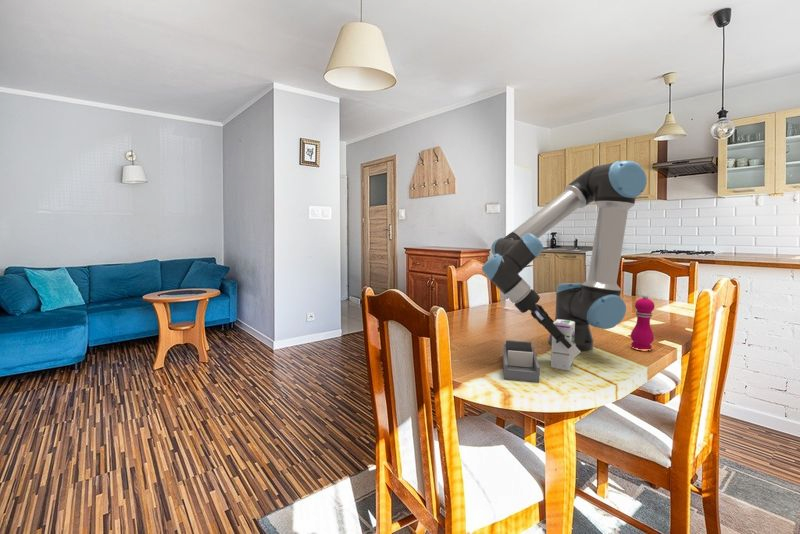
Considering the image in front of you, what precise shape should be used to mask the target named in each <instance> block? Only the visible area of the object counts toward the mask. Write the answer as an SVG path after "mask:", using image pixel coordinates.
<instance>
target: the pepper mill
mask: <svg viewBox="0 0 800 534" xmlns="http://www.w3.org/2000/svg"><path fill="white" fill-rule="evenodd" d="M655 306H656V305H655V303H654V301H653V300H651V299H649V295H648V294H646V293H644V294H642V298H639V299H637V300H636V301H635V303H634V308H635V310H636V311H635V315H636V323H635V326H634V327H633V329H632V330H631V333H630V339H631V341H632V342H631V346H632V347H634V348H638V349H651V348H653V347H652V343H653V342H654V340H655V336H654V332H653V329H652V327H651V318H652V317H653V316H652V315H653V311H654V309H655ZM651 350H652V349H651Z"/></svg>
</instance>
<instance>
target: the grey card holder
mask: <svg viewBox="0 0 800 534" xmlns="http://www.w3.org/2000/svg"><path fill="white" fill-rule="evenodd" d="M508 350H512V351H524V352H533V367H532V368H531V367H520V366H509V365H508V363H507V357H508ZM502 365H503V368H504V369H503V368H502V369H503V379H504V380H510V381H521V382H522V381H523V382H530V383H531V382H532V383H533V382H534V383H540V378H541V377H540V373H541V372H540V371H541V367H540V363H539V360H538V357H537V353H536V350H535V347H534V346H533V345H532V341H524V340H523V341H522V340H511V339H510V340H509V339H506V340H505V344H503V347H502Z"/></svg>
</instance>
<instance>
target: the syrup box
mask: <svg viewBox="0 0 800 534" xmlns="http://www.w3.org/2000/svg"><path fill="white" fill-rule="evenodd" d="M553 321H554V322H553V324H554V325H555V326H556V327H557V328H558V329H559V330H560V331H561V332H562V333H563V334H564V335H565V336H566V337H567V338H568V339H569V340H570V341H571V342H572V343H573V344H574V335H575V322H574V321H570V320H561V319H557V320H556V321H555V320H553ZM550 352H551V355H550V356H551V357H550V368H552V369H557V370H561V371H565V372H566V371H567V372H570V371H571V370H572V368H573V367H574V358H575V357H573V356H572V355H571V354H570V353H569V352H568V351H567V350H566V349H565V348H564V347H563V346H562V345H561V344H560V343H559V342H558V343H556V339H555V338H554V337H553V336H552V345H551V351H550Z"/></svg>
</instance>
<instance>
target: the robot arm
mask: <svg viewBox="0 0 800 534" xmlns="http://www.w3.org/2000/svg"><path fill="white" fill-rule="evenodd" d="M647 178H648V177H647V174H646V172H645V170H644V169H643V167H642V166H641V165H640V164H639V163H637V162H636V161H633V160H617V161H614V162H610V163H605V164H600V165H596V166H593V167H590V168H589V169H588V170H586V171H585V172H583V173H582V174H580V175H579V176H578V177H576V178H575V179H573V180H572V181H571V182H570V183H569V184H567V185H566V186H565V187H564V191H563V192H562V193H560V194H558V196H556V197H555V198H553V200H551V201H550V202H549V203H547V204H546V205H545V206H543V207H542V208H541V209H540V210H538V211H537V212H536V213H535V214H533V215H532V216H530V217H529V218H528V219H527V220H525V221H524V222H523V223H522V224H520V225H519V226H518V227H517V228H515V229H514V230H513V231H511V232H509V233H508V234H506V236H504V237H500V238H497V239H495V240H494V241H493V243H491V247H490V248H491V250H490V251H491V254H492V256H491V257H490V258H489V259H488V260H487V261H486V262H485V263H483V265H482V267H481V270H482V272H483V273H484V275H485V276H486V277H487V279H489V281H491V283H493V285H494V286H496V288H497V289H499V291H501V292H502V294H503V295H504V296H505V297H504V298H505V300H508V299H509V301H510V302H511V303H512V304H514V306H515V307H516V308H517V310H519V312H520V313H527V312H528V311H530V314H531V316H532V318H533V319H535V320H536V321H537V322H538V323H539V324H540V325H542V326H543V328H545V330H546V331H547V332H548V333H549V336H548V338H549V339H548V344H550V345H551V346H552V336H553V337H554V338H555V339H556V343H558V342H559V343H560V344H561V345H562V346H563V347H564V348H565V349H566V350H567V351H568V352H569V353H570V354H571V355H572V356H573V357H574V358H575V357H577V356H578V355H579V354H580V353H582V352H581V351H589V350H592V349H593V348H594V338H593V334H592V331H591V329H590V328H591V327H594V328H599V329H603V330H607V329H609V330H610V329H612V328H615V327H616V326H617V325H619V324H620V323H621V322H622V321H623V319H624V317H625V315H626V311H627V306H626V303H625V302H624V299H623V298H622V297H621V291H622V289H621V288H620V286H619V285H618V283H617V282H618V275H619V270H620V263H621V257H622V251H623V246H624V245H623V244H624V238H625V233H626V232H625V231H626V225H627V220H628V214H629V213H628V212H629V210H630V209H631V208H633V207H634V206H635V204H636V199H637V197H638V196H639V197H640V195H641V194H642V193H643V192H644V191H645V189H646V186H647V180H648V179H647ZM593 202H594V204H595V206H597V208H598V211H597V212H598V213H597V219H596V226H595V231H594V232H595V233H594V238H593V239H594V240H593V244H592V250H591V251H592V252H591V256H590V257H591V258H590V264H589V270H588V278H587V279H586V281H584V282H569V283H568V282H564V283H563V282H562V283H559V284H558V285H557V286H556V293H555V294H556V299H555V317H554V318H555V319H554V320H553V319H552V318H551V317H550V316H549V313H547V311H546V310H545V309H544V307H543V306H542V305H541V304H540V305H539V304H538V302H539V301H540V299H541V296H540V295H539V294H538V293H537V292H536V290H535V289H531V285H529V284H528V282H527V281H526V280H525V279H524V278H523V277H522V276H521V275H520V273H521V272H522V271H523V270H524V269H525V268H526V267H527V266H528V265H530V264H531V262H533V261H534V260H535V259H537V258H538V256H539V255H540V254H541V253H542V251H543V250H544V245H543V243H542V241H541V240H540V239H539V238H541V237H542V236H544V235H545V234H546V233H548V232H549V231H550V230H552V229H553V228H554V227H555V226H557V225H558V224H559V223H561V222H562V221H563V220H564V219H566V218H567V217H568V216H570V215H571V214H572V213H574V211H576V210H577V209H584V208H585V207H586V206H587V205H589V204H591V203H593ZM557 319H561V320H570V321H574V322H575V335H574V344H573V343H572V342H571V341H570V340H569V339H568V338H567V337H566V336H565V335H564V334H563V333H562V332H561V331H560V330H559V329H558V328H557V327H556V326H555V325H554V324H553V322H554V321H556V320H557ZM590 326H591V327H590Z"/></svg>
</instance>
